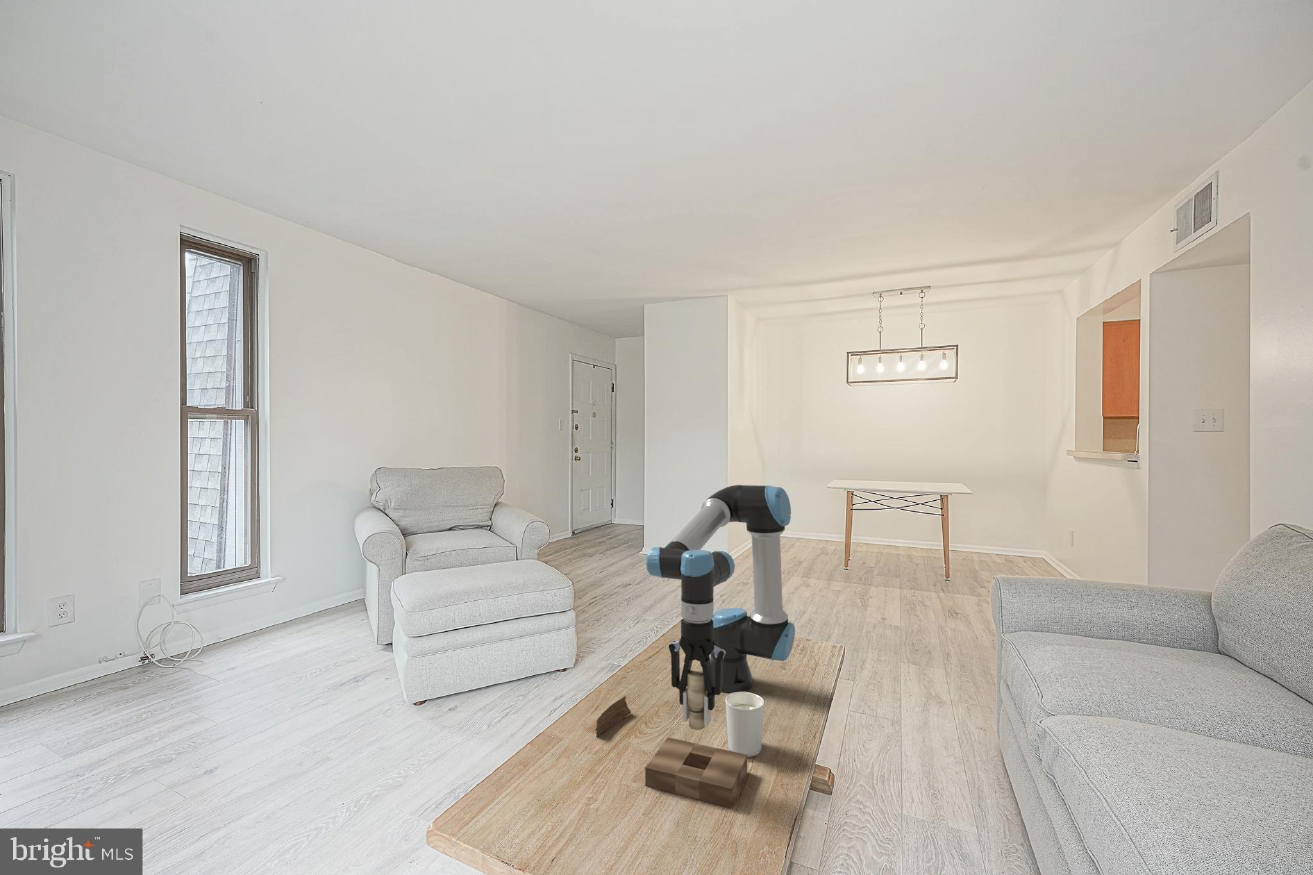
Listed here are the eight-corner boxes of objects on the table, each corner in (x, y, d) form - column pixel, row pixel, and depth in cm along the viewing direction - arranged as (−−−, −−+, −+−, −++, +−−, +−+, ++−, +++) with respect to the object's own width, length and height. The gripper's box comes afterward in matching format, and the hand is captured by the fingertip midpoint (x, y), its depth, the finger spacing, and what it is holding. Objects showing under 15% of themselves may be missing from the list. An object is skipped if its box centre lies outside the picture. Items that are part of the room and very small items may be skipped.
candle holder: (734, 761, 133) (734, 711, 133) (719, 740, 143) (719, 694, 143) (771, 755, 136) (771, 706, 136) (753, 735, 145) (753, 689, 146)
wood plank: (600, 738, 144) (600, 719, 144) (594, 736, 145) (594, 717, 145) (630, 713, 157) (630, 696, 157) (624, 712, 158) (624, 694, 158)
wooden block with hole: (668, 753, 137) (668, 737, 137) (747, 771, 129) (747, 754, 129) (645, 785, 124) (645, 767, 124) (731, 807, 116) (731, 788, 116)
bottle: (690, 719, 129) (691, 668, 130) (708, 723, 128) (709, 671, 128) (684, 728, 125) (684, 675, 125) (703, 732, 124) (703, 678, 124)
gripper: (656, 618, 127) (655, 720, 126) (729, 628, 120) (729, 736, 120) (668, 610, 134) (667, 706, 133) (738, 618, 127) (738, 720, 127)
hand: (696, 720), depth 126 cm, fingers closed on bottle, 4 cm apart
